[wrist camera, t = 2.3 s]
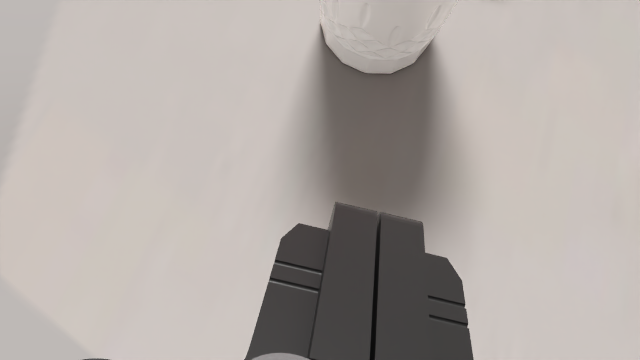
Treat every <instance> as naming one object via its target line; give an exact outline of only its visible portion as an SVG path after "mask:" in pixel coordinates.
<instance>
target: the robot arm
mask: <svg viewBox="0 0 640 360" xmlns="http://www.w3.org/2000/svg"><path fill="white" fill-rule="evenodd" d="M464 307H465V299H464V292H463V285H462V280H461V279H460V277H459V276H458V274H457V273H456V271H455V270H454V268H453V267H452V265H451V264H450V262H449V261H448V259H447V258H445V257H440V256H436V255H432V254H428V253H425V246H424V231H423V223H422V222H420V221H416V220H411V219H407V218H403V217H399V216H394V215H390V214H386V213H382V212H380V213H379V214H378V217H377V211H372V210H368V209H364V208H360V207H355V206H351V205H347V204H343V203H338V202H335V205H334V208H333V212H332V216H331V220H330V223H329V227H328V230H325V229H321V228H317V227H312V226H308V225H304V224H300V223H299V224H297V225H296V226H295V227H294V228H293V229H292V230H290V231H289V232H288V233H287V234H286V235H285V236H283V237H282V238H281V241H280V245H279V248H278V251H277V255H276V258H275V262H274V265H273V268H272V272H271V275H270V279H269V282H268V286H267V289H266V292H265V296H264V299H263V303H262V306H261V310H260V313H259V316H258V320H257V323H256V327H255V330H254V334H253V337H252V340H251V344H250V347H249V351H248V353H247V355H246V358H245V359H244V360H473V353H472V347H471V340H470V333H469V328H467V326H468V319H467V312H466V309H465V308H464ZM84 360H108V359H84Z"/></svg>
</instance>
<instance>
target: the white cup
mask: <svg viewBox="0 0 640 360" xmlns="http://www.w3.org/2000/svg"><path fill="white" fill-rule="evenodd" d="M457 2H458V0H320V7H321V9H320V22H321V26H322V30H323V34H324V38H325V42H326V44H327V46H328V47H329V48H330V49H331V50H332V51H333V52H334V54H335V55H336V56H337V57H338V58H339V59H340V61H341V62H342V63H344V64H346V65H349V66H351V67H353V68H355V69H357V70H360V71H362V72H364V73H385V74H391V73H393V72H395V71H398V70H400V69H402V68H405V67H407V66H409V65H411V64H413V63H414V62H415V61H416V60H417V59H418V57H419V56H420V55H421V54H422V52H423V51H424V50H425V49H426V48H427V46H428V45H429V43H430V42H431V40H432V38H433V37H435V35H436V34H437V33H438V31H439V30H440V28H441V27H442V25H443V24H444V22H445V21H446V19H447V18H448V16H449V15H450V13H451V12H452V10H453V9H454V7H455V5H456V4H457Z"/></svg>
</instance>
